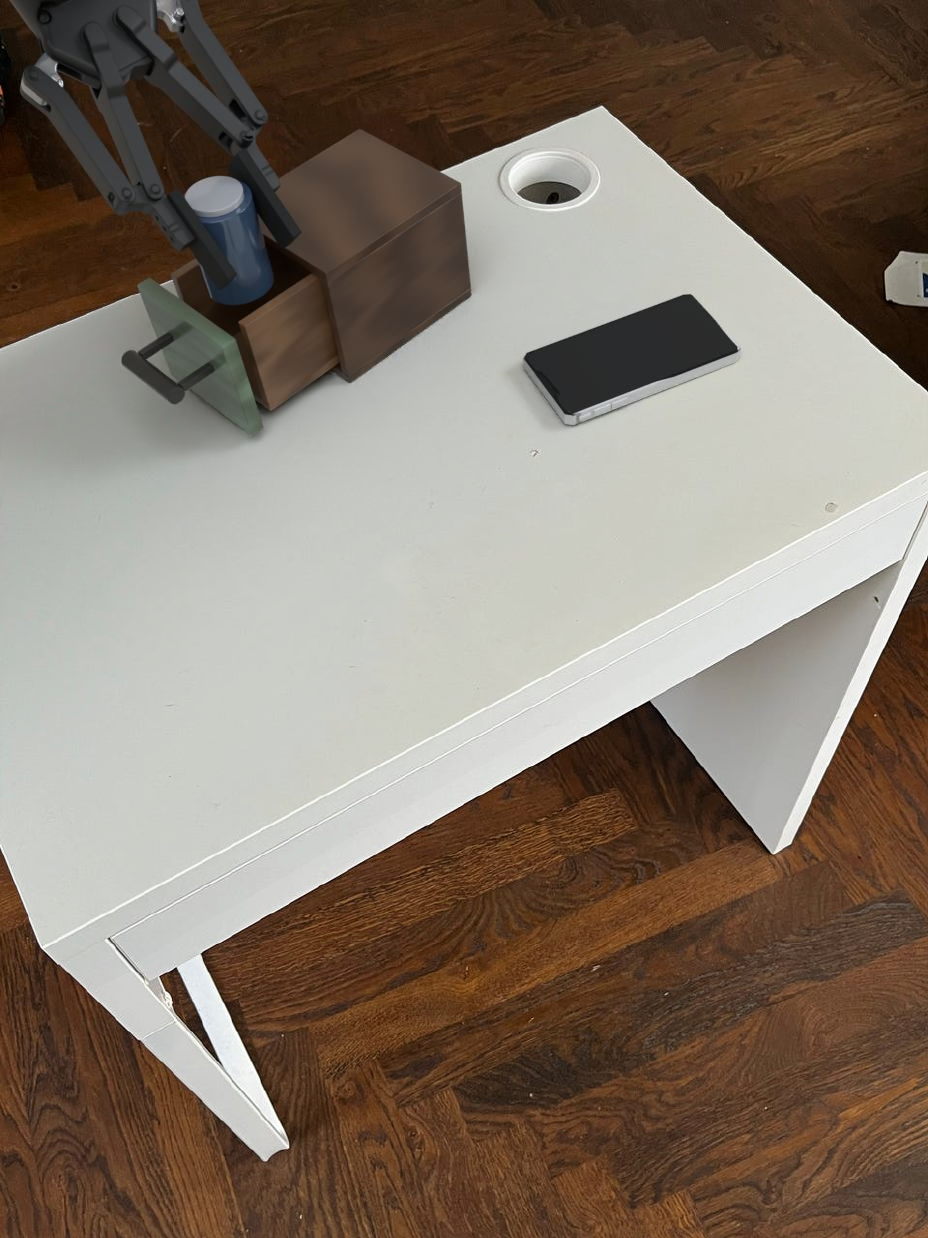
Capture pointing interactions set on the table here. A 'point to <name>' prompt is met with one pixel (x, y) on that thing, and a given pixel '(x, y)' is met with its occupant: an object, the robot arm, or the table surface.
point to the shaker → (233, 237)
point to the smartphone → (630, 358)
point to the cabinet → (377, 244)
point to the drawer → (237, 341)
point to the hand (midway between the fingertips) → (260, 260)
